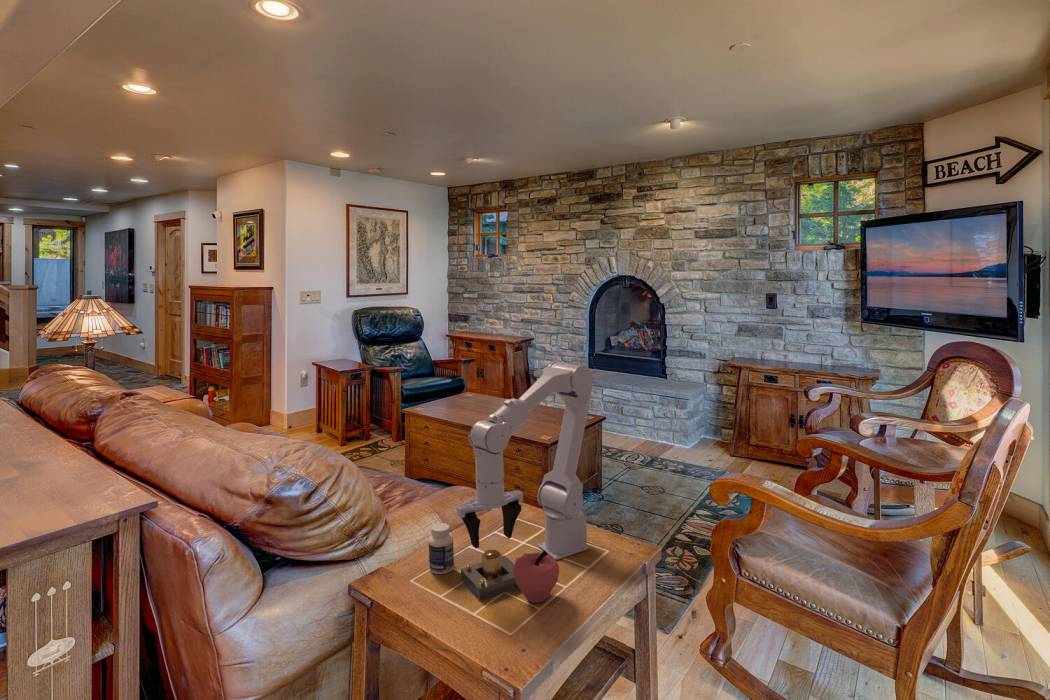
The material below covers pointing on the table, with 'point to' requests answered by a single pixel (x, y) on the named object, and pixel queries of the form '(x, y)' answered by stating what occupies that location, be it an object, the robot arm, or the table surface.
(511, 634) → the table surface
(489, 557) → the brass cylinder
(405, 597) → the table surface
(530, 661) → the table surface
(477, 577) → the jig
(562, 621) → the table surface
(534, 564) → the apple
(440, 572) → the pill bottle
